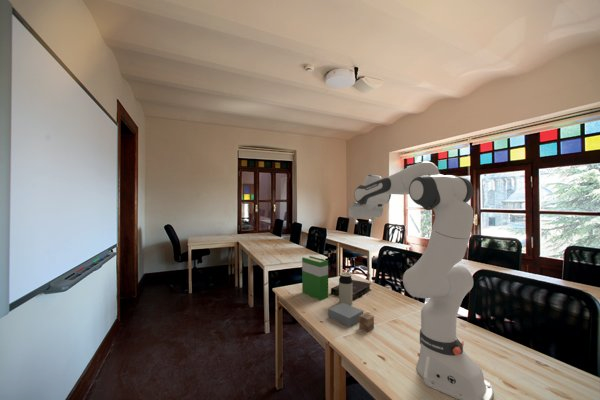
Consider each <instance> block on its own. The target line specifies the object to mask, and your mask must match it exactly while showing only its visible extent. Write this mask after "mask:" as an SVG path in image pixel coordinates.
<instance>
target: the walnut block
mask: <svg viewBox="0 0 600 400" xmlns="http://www.w3.org/2000/svg"><path fill="white" fill-rule="evenodd" d="M358 324H359V329H361V330H363V331H365V332H367V333H369V332H371V331H372V330H375V329H374V328H375V316H374V315H373V314H372V315H371V314H369V313H367V312H363V314H362V315H360V316H359V322H358Z"/></svg>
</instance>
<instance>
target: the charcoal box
mask: <svg viewBox="0 0 600 400" xmlns="http://www.w3.org/2000/svg"><path fill="white" fill-rule="evenodd" d="M362 314H364V310H362V309H360V308H357V307H354V306H352V305H347V304H345V303H338V304H336V305H334V306H331V307H330V308H328V318H329V319H331V320H333V321H335V322H337V323H339V324H341V325H344V326H346V327H347V328H351V327H353V326H355V325H356V324H359V316H360V315H362Z"/></svg>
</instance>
